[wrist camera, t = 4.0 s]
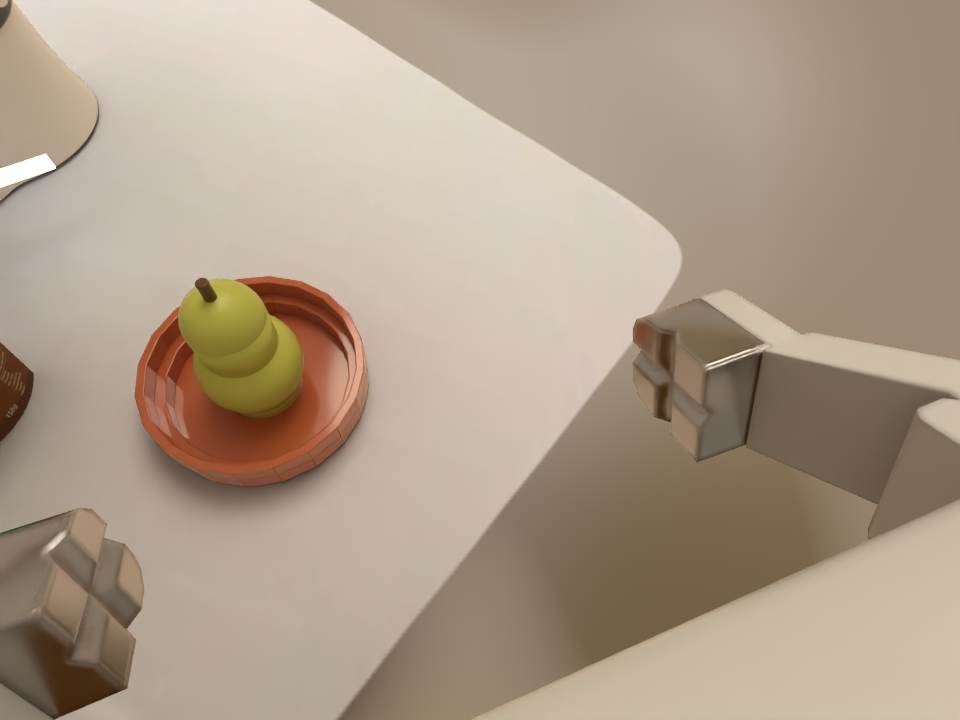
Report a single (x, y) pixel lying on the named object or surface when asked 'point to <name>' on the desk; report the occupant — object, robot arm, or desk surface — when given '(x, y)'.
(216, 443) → the dish
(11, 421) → the food container
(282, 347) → the pear
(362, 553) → the desk surface
